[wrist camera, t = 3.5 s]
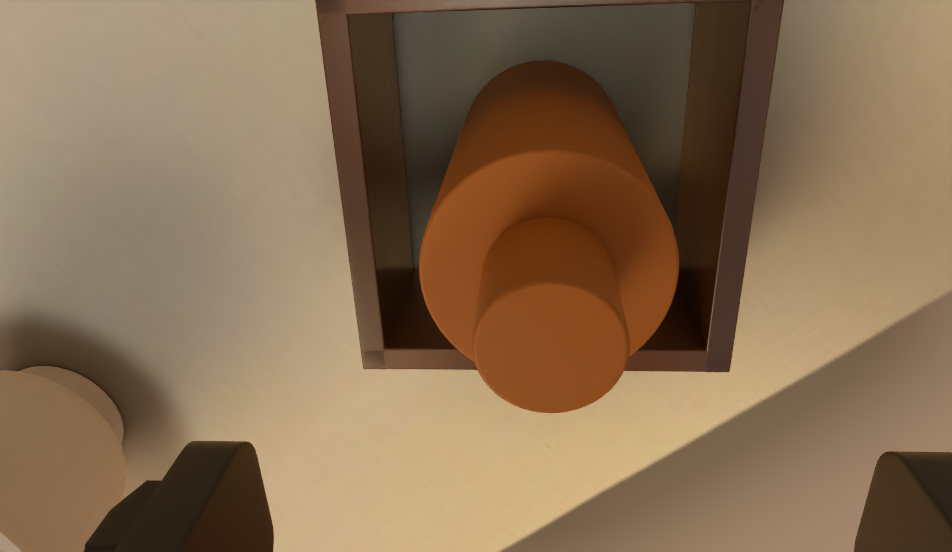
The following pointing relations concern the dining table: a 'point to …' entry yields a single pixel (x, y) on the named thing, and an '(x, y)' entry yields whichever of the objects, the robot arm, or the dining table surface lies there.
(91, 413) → the teacup
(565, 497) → the dining table surface
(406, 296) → the crate
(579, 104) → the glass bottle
